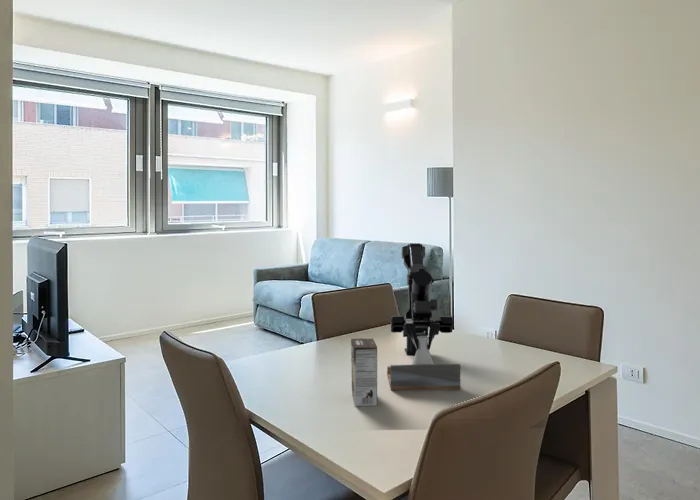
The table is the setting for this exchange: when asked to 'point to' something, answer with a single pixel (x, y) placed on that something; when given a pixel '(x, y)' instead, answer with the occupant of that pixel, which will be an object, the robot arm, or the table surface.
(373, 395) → the coffee box
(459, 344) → the table surface
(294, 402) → the table surface
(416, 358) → the flask
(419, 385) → the chalkboard eraser
